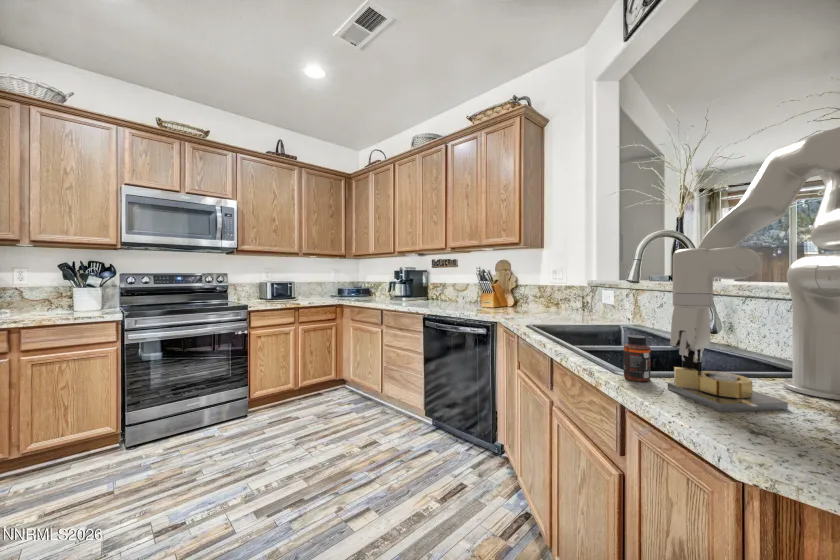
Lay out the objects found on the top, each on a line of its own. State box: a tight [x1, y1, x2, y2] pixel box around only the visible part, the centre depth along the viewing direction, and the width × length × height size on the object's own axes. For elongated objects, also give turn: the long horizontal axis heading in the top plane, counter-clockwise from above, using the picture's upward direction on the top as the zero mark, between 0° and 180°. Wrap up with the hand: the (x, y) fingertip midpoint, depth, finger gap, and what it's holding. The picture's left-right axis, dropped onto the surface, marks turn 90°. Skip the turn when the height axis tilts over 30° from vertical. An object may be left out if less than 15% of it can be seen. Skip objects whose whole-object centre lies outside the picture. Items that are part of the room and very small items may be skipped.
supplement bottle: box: [623, 334, 651, 383], centre depth 91 cm, size 6×6×11 cm
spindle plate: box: [667, 371, 789, 413], centre depth 76 cm, size 14×16×5 cm
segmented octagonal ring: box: [673, 366, 753, 398], centre depth 77 cm, size 13×9×4 cm
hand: (691, 377), depth 82 cm, fingers closed
